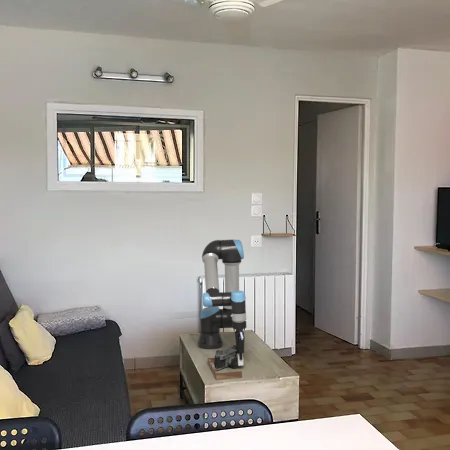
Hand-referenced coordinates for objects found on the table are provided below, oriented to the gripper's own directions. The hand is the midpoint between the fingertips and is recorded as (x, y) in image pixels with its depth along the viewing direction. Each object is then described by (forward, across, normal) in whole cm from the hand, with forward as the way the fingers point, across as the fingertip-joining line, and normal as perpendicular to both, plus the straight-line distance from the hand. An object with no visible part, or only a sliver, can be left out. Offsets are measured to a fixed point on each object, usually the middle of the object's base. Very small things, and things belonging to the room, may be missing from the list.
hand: (240, 364), depth 274 cm
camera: (+2, -4, -5) cm, 7 cm away
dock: (+2, -1, -8) cm, 8 cm away
